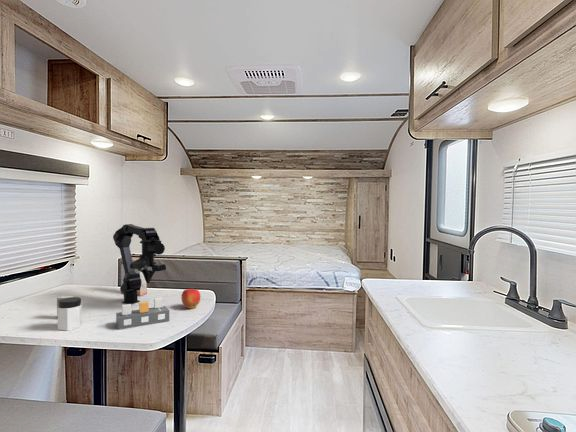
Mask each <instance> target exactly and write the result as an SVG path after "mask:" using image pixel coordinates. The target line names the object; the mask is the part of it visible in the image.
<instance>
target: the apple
mask: <svg viewBox="0 0 576 432" xmlns="http://www.w3.org/2000/svg"><path fill="white" fill-rule="evenodd" d="M180 298H181V302H182V304H183V306H184V307H186V308H187V309H189V310H190V309H191V310H192V309H194V308H196V307H197V306H199V304H200V302H201V292H200V291H199V289H196V288H188V289H187V288H186V289H184V290H183V291H182V293H181V297H180Z"/></svg>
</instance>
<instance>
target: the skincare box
mask: <svg viewBox="0 0 576 432" xmlns="http://www.w3.org/2000/svg"><path fill="white" fill-rule="evenodd" d="M70 297H74V296H73V295H66V294H65V295H61V296H58V297H56V313H57V314H56V319H57V320H58V308H59V300H61V299H64V298H70Z"/></svg>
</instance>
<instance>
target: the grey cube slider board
mask: <svg viewBox="0 0 576 432" xmlns="http://www.w3.org/2000/svg"><path fill="white" fill-rule="evenodd" d="M115 319H116V320H115V324H116V327H117V330H124V329H131V328H136V327H143V326H149V325H154V324H159V323H160V324H161V323H167V322H170V309H169V308H168V307H167V306H166V305H163V307H160V308H154V306H153V307H149V312H143V313H140V312H139V309H131V314H128V315H122V311H119V312H116V313H115Z"/></svg>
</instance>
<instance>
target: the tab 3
mask: <svg viewBox="0 0 576 432" xmlns="http://www.w3.org/2000/svg"><path fill="white" fill-rule="evenodd" d="M163 302H164V300H163V297H157V298H156V297H155V298H154V299H153V307H154V308H160V307H163V306H164V303H163Z"/></svg>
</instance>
